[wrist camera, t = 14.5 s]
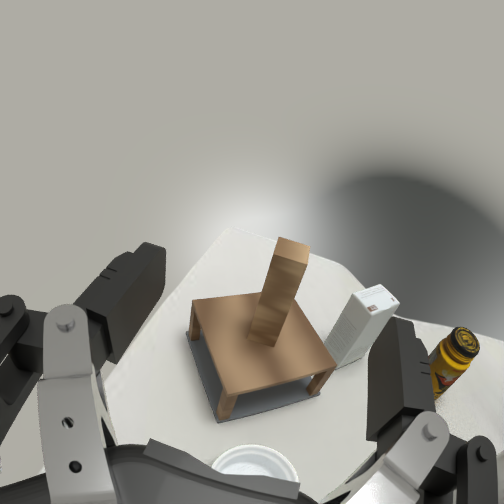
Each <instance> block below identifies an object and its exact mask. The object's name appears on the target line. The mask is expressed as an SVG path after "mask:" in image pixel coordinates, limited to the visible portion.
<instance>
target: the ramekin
mask: <svg viewBox="0 0 504 504" xmlns="http://www.w3.org/2000/svg"><path fill="white" fill-rule="evenodd" d="M211 468H213V469H214V470H216V471H218V472H220V473H223V474H235V475H265V476H269V477H274V478H278V479H283V480H288V481H293V482H298V483H299V479H298V475H297V473H296V470H295V468H294V467H293V465H292V464H291V462H290V461H289V460H288V459H287V458H286V457H285V456H284V455H282V454H281V453H279V452H278V451H276V450H274V449H272V448H269V447H266V446H263V445H256V444H246V445H239V446H236V447H233V448H231V449H229V450H227V451H225V452H224V453H222V454H221V455H220V456H219V457H218V458H217V459H216V460H215V461H214V463H213V464H212V466H211Z"/></svg>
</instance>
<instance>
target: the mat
mask: <svg viewBox="0 0 504 504" xmlns="http://www.w3.org/2000/svg"><path fill="white" fill-rule="evenodd" d="M186 335H187V338H188V341H189V344H190V347H191V350H192V353H193V356H194V359H195V362H196V365H197V368H198V371H199V374H200V377H201V379H202V382H203V385H204V388H205V391H206V393H207V396H208V399H209V402H210V404H211V407H212V410H213V412H214V415H215V418H216V420H217V423H222V422H226V421H230V420H235V419H239V418H243V417H247V416H251V415H255V414H258V413H262V412H266V411H269V410H273V409H276V408H280V407H283V406H287V405H290V404H293V403H296V402H300V401H303V400H306V399H309V398H312V397H315V396H318V395H320V392H318V394H315V395H312V396H309V394H308V392H307V390H306V388H307V386H308V385H309V383H310V382H311V380H312V378H311V376H309V377H305V378H302V379H298V380H295V381H291V382H287V383H284V384H280V385H276V386H272V387H268V388H264V389H260V390H256V391H252V392H248V393H244V394H239V395H238V397H237V400H236V402H235V405H234V407H233V410H232V413H231V415H230V418H229V419H226V420H221V421H219V419H218V416H217V413H216V410H217V407H218V404H219V400H220V397H221V393H222V390H223V386H222V383H221V381H220V378H219V376H218V373H217V370H216V368H215V365H214V363H213V360H212V357H211V355H210V352H209V349H208V347H207V344H206V341H205V339H204V336H203V333H202V330H201V331H200V338H199V340H194V341H191V340H190V337H189V331H187V332H186Z"/></svg>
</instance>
